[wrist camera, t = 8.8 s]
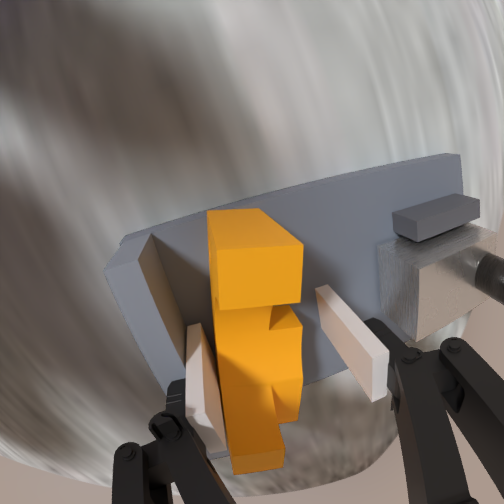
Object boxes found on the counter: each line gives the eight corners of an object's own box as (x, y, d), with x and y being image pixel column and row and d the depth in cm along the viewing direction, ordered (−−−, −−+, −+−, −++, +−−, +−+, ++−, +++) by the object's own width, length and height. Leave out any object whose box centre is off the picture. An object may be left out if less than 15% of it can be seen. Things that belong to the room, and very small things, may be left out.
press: (199, 401, 20) (205, 460, 15) (125, 235, 16) (97, 272, 11) (447, 305, 22) (489, 334, 17) (445, 153, 18) (503, 160, 13)
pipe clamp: (283, 387, 19) (314, 460, 13) (219, 395, 18) (233, 475, 12) (292, 207, 15) (354, 241, 9) (206, 210, 15) (216, 249, 9)
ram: (380, 310, 18) (483, 406, 9) (376, 245, 17) (511, 326, 7) (454, 275, 19) (553, 336, 10) (456, 216, 17) (573, 264, 8)
